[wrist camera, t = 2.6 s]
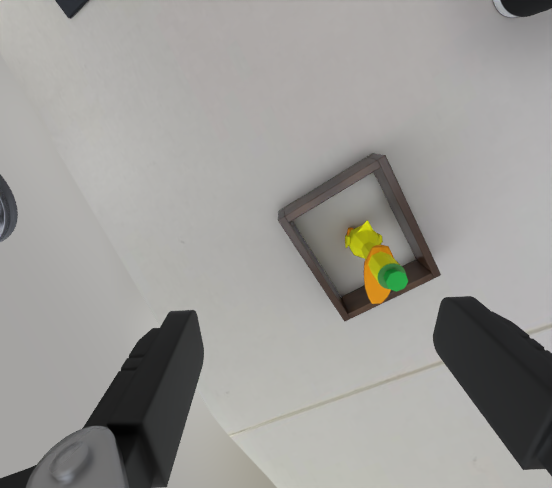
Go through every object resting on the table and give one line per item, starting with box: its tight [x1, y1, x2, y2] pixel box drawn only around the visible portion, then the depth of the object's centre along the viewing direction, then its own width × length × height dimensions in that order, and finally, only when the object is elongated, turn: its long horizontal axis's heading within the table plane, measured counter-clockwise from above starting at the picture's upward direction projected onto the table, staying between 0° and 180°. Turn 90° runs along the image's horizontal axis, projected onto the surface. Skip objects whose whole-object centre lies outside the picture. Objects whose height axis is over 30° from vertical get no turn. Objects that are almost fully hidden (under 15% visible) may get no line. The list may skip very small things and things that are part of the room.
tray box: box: [278, 153, 441, 321], centre depth 29 cm, size 12×15×4 cm
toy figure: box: [345, 220, 408, 304], centre depth 25 cm, size 7×4×12 cm, turn 4°
